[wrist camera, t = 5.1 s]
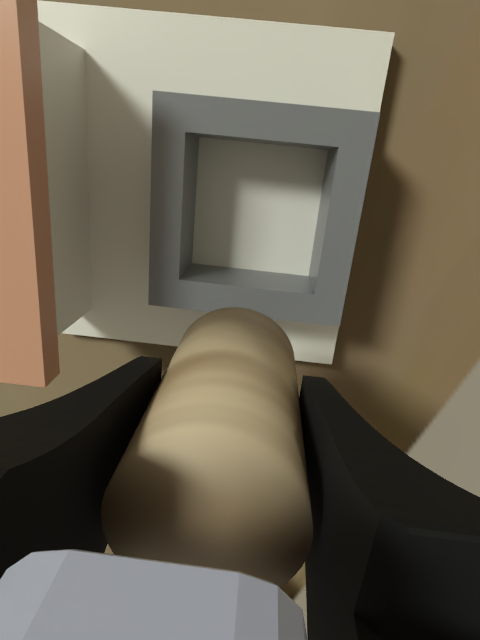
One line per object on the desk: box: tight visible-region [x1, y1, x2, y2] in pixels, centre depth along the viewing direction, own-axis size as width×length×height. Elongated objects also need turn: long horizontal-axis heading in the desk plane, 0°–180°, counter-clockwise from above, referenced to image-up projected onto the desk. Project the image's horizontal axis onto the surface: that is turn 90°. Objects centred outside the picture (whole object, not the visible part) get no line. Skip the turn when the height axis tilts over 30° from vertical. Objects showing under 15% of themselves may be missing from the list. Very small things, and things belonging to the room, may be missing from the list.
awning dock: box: [0, 0, 395, 387], centre depth 16 cm, size 14×14×8 cm
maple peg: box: [101, 307, 313, 587], centre depth 11 cm, size 4×4×7 cm
